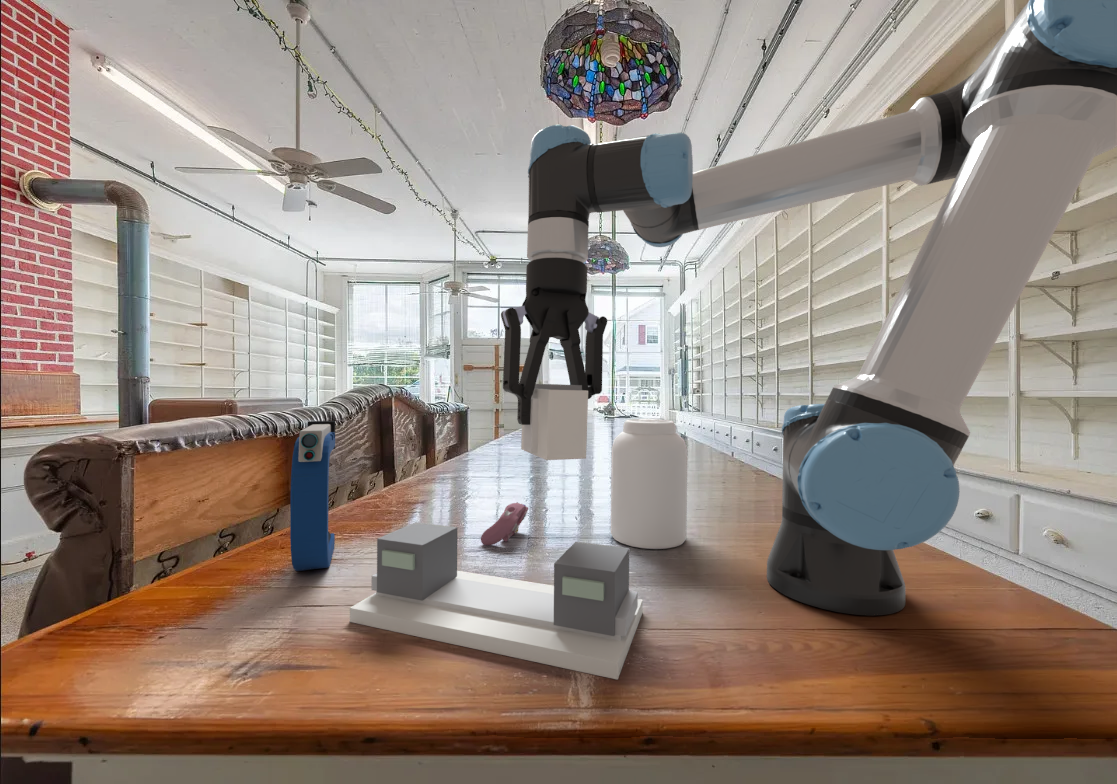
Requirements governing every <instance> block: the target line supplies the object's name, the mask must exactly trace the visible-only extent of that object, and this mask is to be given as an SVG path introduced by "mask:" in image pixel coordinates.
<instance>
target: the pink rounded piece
mask: <svg viewBox="0 0 1117 784" xmlns="http://www.w3.org/2000/svg"><path fill="white" fill-rule="evenodd" d="M528 511H529V507H527V506H526V504H523V503H520V502H518V501H516V502H513V503H510V504H508V505H506V507H505V508H504V511H503V512H502V514H501V515H500V516H499V518H498V519H497V520H496V522H494V524H492V525H491V526H490V527H488V528H487V529H486V530H484V531H483V533H482V535H481V536H480V542H481V544H482V545H483V546H492V545H493V546H494V545H495V544H498V543H499V542H501V541H503V542H505V543H507V542H508V541H509V539H510V538H511V537H513V536H514V535H515V533H518V532H519V527H520V525H521V524H522V522H523V521H524V520H525V518H526V516H527V514H528Z"/></svg>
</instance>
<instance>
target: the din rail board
mask: <svg viewBox="0 0 1117 784" xmlns="http://www.w3.org/2000/svg"><path fill="white" fill-rule="evenodd" d="M376 543H377V544H376V573H374V574H372V575H371V591H375V592H374V593H373V594H371V595H369V596H367V597H366V598H364V599H363V600H360V601H359V602H357V603H355V604H354V605H352V606H351V607H349V623H354V624H358V625H362V626H368V627H372V628H377V629H381V630H386V631H389V632H395V633H399V634H405V635H409V636H415V637H418V638H423V639H428V640H432V641H436V642H440V643H445V644H451V645H455V646H458V647H459V646H461V647H465V648H470V649H474V650H479V651H484V652H488V653H493V654H497V655H501V656H502V655H503V656H507V657H511V658H514V659H519V660H523V661H529V662H533V663H538V664H543V665H549V666H552V667H557V668H561V669H562V668H563V669H565V670H571V671H576V672H580V673H585V674H590V675H594V676H598V677H599V676H600V677H604V678H609V679H612V680H619V677H620V675H621V673H622V669H623V666H624V664H625V661H626V659H627V655H628V653H629V651H630V649H631V644H632V642H633V639H634V637H635V634H636V632H637V629H638V626H639V623H640V620H641V618H642V615H643V609H644V608H643V607H644V606H643V605H644V603H643V602H644V601H643V599H642V598H638V597H639V594H638V593H639V592H638V591H635V590H630V547H622V546H616V545H607V544H599V543H591V542H581V541H580V542H579V541H575V542H573V544H572V545H570V547H569V548H567V550H566V551H565V552H564V553H563V554H561V556H559V558H558V559H557V560H556V561H555V562H554V564H553V585H551V584H546V583H545V584H544V583H541V582H540V583H539V582H533V581H532V582H531V581H526V580H520V579H515V578H514V579H513V578H509V577H508V578H507V577H500V576H496V575H495V576H494V575H488V574H482V573H475V572H468V571H461V570H458V527H457V526H451V525H450V526H449V525H441V524H433V523H425V522H417V521H416V522H412V523H411V524H408V525H406V526H403V527H401V528H399V529H397V530H394V531H393V532H390V533H387V534H385V535H383V536H381V537H377V539H376Z"/></svg>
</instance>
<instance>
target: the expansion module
mask: <svg viewBox="0 0 1117 784" xmlns="http://www.w3.org/2000/svg"><path fill="white" fill-rule="evenodd" d="M531 398H534V399H539V406H538V442H537V453H534V454H533V455H534V456H536V457H539V458H540V459H543V460H545V461H557V460H558V461H560V460H561V461H562V460H582V459H583V460H586V459H587V446H588V445H587V442H588V441H587V439H588V411H589V410H588V409H589V408H588V407H589V399H588V391H586V390H582V385H570V384H561V383H560V384H558V383H557V384H556V383H555V384H554V383H553V384H552V383H536V384H535V388H534V392H533V395H532V397H531ZM520 441H521V442H520V443H521V444H520V449H521V450H522V451H524V425H521V440H520Z"/></svg>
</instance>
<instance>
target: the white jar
mask: <svg viewBox="0 0 1117 784" xmlns="http://www.w3.org/2000/svg"><path fill="white" fill-rule="evenodd" d="M675 424H676V423H675V422H674V421H673V420H670V419H660V418H659V419H658V418H630V419H626V420H625V421H624V423H623V427H622V431H621V432H620V433H619V434H618V435H617V436H616V437H615V438H614V439H613V443H612V446H611V461H610V462H611V469H610V471H611V472H610V473H611V477H610V478H611V481H610V483H611V484H610V487H611V488H610V492H611V493H610V534H611V536H612V538H613V539H614V540H615V541H617V542H619V543H620V544H623V545H625V546H626V545H627V546H630V547H634V548H637V549H638V548H640V549H645V550H646V549H647V550H649V549H650V550H662V549H663V550H665V549H671V548H676V547H679V546H681V545H683V543H685V541H686V539H687V530H688V529H687V528H688V527H687V526H688V525H687V522H688V521H687V519H688V517H687V515H688V512H687V511H688V452H689V451H688V448H687V444H686V441H685V440H684V438H683V437H682V436H680V434H679V433H677V426H676V425H675Z"/></svg>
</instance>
